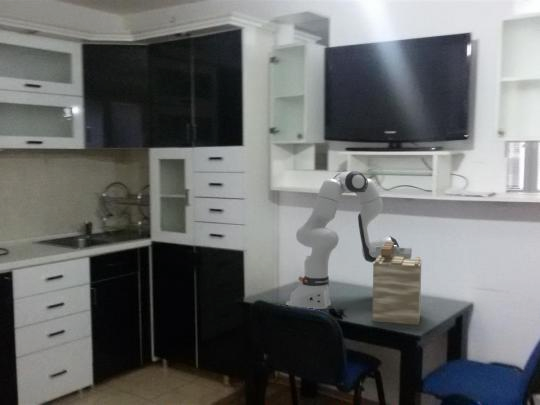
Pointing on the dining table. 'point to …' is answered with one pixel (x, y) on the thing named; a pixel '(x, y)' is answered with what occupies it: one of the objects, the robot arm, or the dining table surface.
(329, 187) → the robot arm
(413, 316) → the slotted stand
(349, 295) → the dining table surface
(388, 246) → the rail bar
